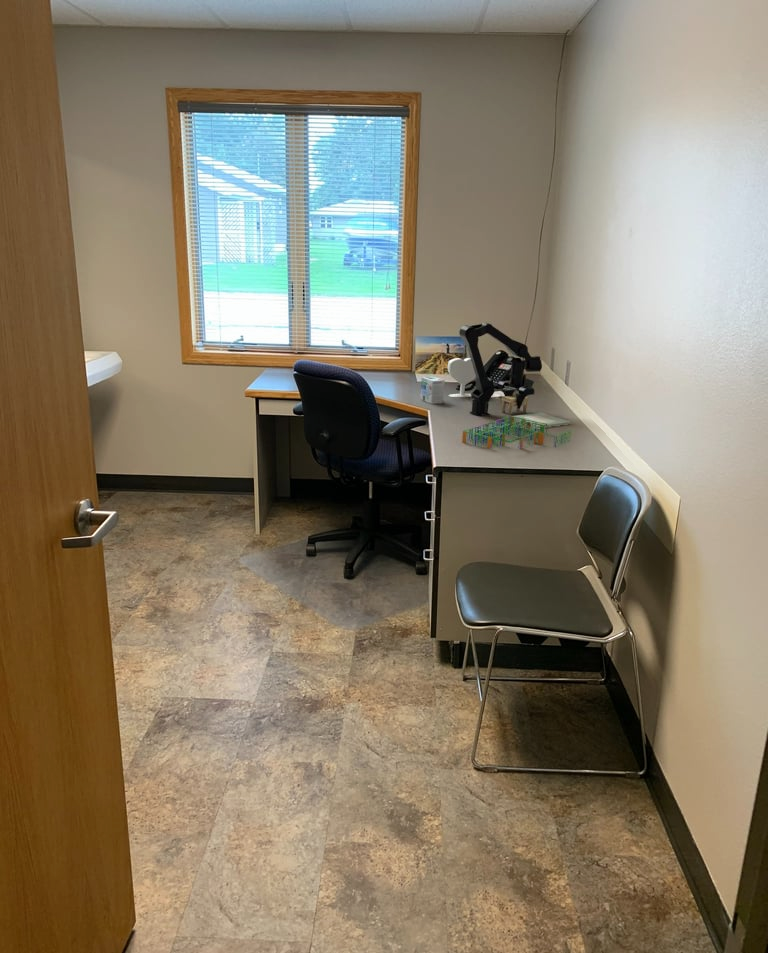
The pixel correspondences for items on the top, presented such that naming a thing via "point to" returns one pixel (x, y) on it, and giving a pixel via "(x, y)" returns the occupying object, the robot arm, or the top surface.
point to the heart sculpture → (461, 374)
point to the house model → (485, 431)
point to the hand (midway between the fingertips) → (514, 407)
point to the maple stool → (512, 403)
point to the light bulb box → (432, 390)
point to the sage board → (542, 419)
